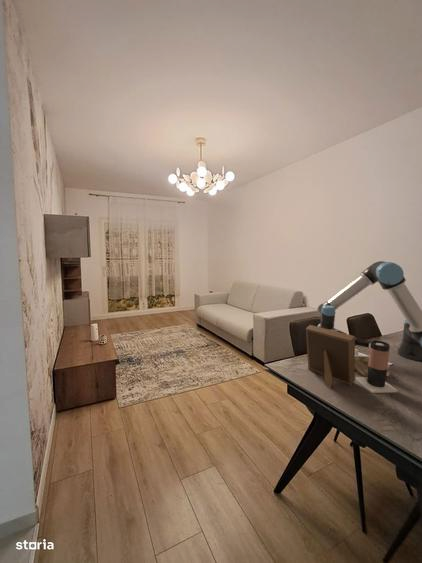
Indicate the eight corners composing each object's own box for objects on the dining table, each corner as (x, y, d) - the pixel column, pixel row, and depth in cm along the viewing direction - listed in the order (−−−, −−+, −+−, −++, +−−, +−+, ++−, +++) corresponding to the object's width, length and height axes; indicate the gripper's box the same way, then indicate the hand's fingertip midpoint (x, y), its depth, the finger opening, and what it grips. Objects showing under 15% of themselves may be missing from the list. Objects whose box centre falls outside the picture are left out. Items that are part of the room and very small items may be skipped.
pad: (378, 378, 129) (378, 376, 128) (397, 392, 117) (397, 390, 117) (355, 379, 128) (355, 377, 128) (372, 392, 116) (372, 390, 116)
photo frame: (312, 366, 141) (315, 322, 137) (354, 382, 125) (359, 333, 121) (297, 375, 131) (300, 328, 128) (341, 394, 115) (346, 341, 111)
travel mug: (388, 388, 118) (393, 347, 115) (370, 386, 119) (374, 345, 116) (381, 380, 125) (385, 341, 122) (363, 378, 127) (367, 339, 124)
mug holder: (371, 364, 144) (372, 356, 144) (389, 376, 132) (390, 366, 131) (349, 364, 144) (350, 356, 143) (364, 376, 131) (365, 367, 130)
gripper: (355, 341, 149) (388, 356, 129) (318, 345, 144) (347, 361, 123) (356, 329, 148) (390, 342, 128) (319, 332, 143) (348, 346, 122)
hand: (369, 351), depth 126 cm, fingers open, 13 cm apart
